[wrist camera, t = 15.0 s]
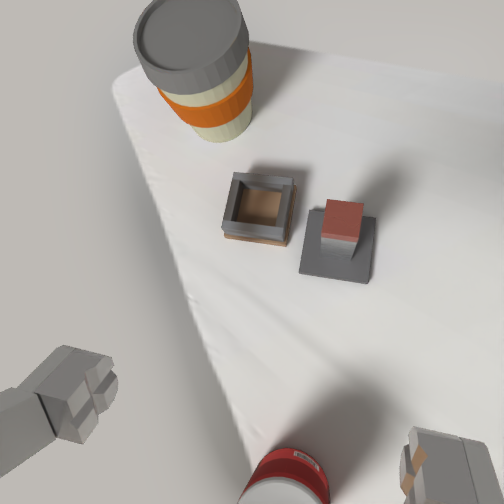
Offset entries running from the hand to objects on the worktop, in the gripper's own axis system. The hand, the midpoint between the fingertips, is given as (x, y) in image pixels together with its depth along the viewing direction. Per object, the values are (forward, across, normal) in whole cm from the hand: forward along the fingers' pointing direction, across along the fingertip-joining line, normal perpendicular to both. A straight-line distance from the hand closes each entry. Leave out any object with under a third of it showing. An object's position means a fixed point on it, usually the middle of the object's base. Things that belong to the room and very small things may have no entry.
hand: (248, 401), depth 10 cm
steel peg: (+33, -2, +13) cm, 35 cm away
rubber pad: (+34, -2, +13) cm, 36 cm away
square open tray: (+36, +8, +11) cm, 39 cm away
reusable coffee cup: (+46, +17, +1) cm, 49 cm away
